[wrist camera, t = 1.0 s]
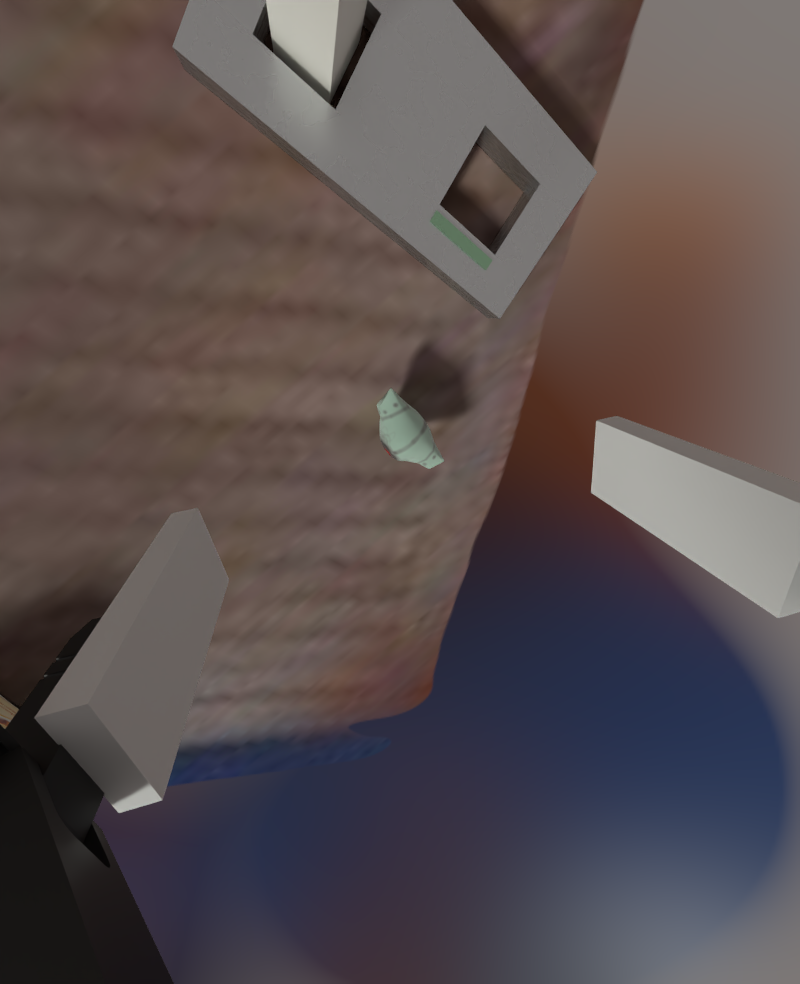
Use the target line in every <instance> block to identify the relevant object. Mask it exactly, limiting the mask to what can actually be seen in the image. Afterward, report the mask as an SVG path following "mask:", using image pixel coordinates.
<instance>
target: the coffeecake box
mask: <svg viewBox="0 0 800 984" xmlns="http://www.w3.org/2000/svg"><path fill="white" fill-rule="evenodd" d="M18 710H19V709H18V708H17V707H15V706H14V705H13V704H11V703H10V702H9V701H7V700H6V699H5V698H4V697H2V696H1V695H0V725H1V726H2V727H3V728H4V729H5V728H6V727H7V726H8V724H9V723H10V721H11V720H12V719H13V717H14V716H15V715H16V713H17V712H18Z"/></svg>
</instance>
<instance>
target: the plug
mask: <svg viewBox="0 0 800 984" xmlns="http://www.w3.org/2000/svg"><path fill="white" fill-rule="evenodd" d="M266 4H267V11H268V18H269V25H270V31H271V38H272V45H273V52H274V54H275V55H276V56H277V57H278V58H279V59H280V60H281V61H282V62H284V63H285V64H286V65H287V66H288V67H289V68H290V69H291V70H292V71H293V72H295V73H296V74H297V75H298V76H299V77H300V78H301V79H302V80H303V81H304V82H306V83H307V84H308V85H309V86H310V87H311V88H312V89H313V90H314V91H315V92H317V93H318V94H319V95H320V96H321V97H322V98H323V99H324V100H325V101H326V102H327V103H329V104H330V103H331V101H332V99H333V96H334V94H335V92H336V90H337V88H338V86H339V84H340V82H341V80H342V77H343V75H344V73H345V71H346V69H347V67H348V65H349V63H350V61H351V58H352V56H353V54H354V52H355V50H356V48H357V46H358V44H359V42H360V37H361V31H362V26H363V20H364V15H365V10H366V4H367V0H266Z"/></svg>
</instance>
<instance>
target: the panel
mask: <svg viewBox="0 0 800 984" xmlns="http://www.w3.org/2000/svg"><path fill="white" fill-rule="evenodd" d="M363 26H364V27H365V28H366V29H367V30H368V31H369V33H370V34H371V37H370V39H369V41H368V43H367V45H366V47H365V49H364V51H363V53H362V55H361V57H360V59H359V62H358V64H357V66H356V68H355V70H354V72H353V74H352V76H351V78H350V80H349V82H348V85H347V87H346V89H345V91H344V93H343V95H342V97H341V99H340V101H339V103H338V105H337V107H336V110H335V109H334V108H333V107H332V106H331V105H330V104H329V103H327V102H326V101H325V100H324V99H323V98H322V97H321V96H320V95H319V94H318V93H317V92H315V91H314V90H313V89H312V88H311V87H310V86H309V85H308V84H307V83H306V82H304V81H303V80H302V79H301V78H300V77H299V76H298V75H297V74H296V73H295V72H293V71H292V70H291V69H290V68H289V67H288V66H287V65H286V64H285V63H284V62H282V61H281V60H280V59H279V58H278V57H277V56H276V55H275V54H274V53H273V52H271V51H270V50H269V49H268V48H267V47H266V46H265V45H264V44H263V43H264V41H265V39H266V36H267V34H268V31H269V29H270V25H269V18H268V11H267V4H266V0H189V3H188V5H187V8H186V11H185V14H184V16H183V19H182V22H181V25H180V27H179V30H178V33H177V36H176V38H175V41H174V44H173V49H174V51H175V52H176V54H177V56H178V58H179V60H180V62H181V64H182V65H183V67H184V69H185V70H186V71H187V72H188V73H190V74H191V75H192V76H193V77H194V78H196V79H197V80H198V81H199V82H201V83H202V84H203V85H204V86H205V87H207V88H208V89H209V90H210V91H212V92H213V93H214V94H215V95H216V96H218V97H219V98H220V99H221V100H223V101H224V102H225V103H226V104H227V105H229V106H230V107H231V108H232V109H233V110H235V111H236V112H237V113H238V114H240V115H241V116H242V117H243V118H244V119H246V120H247V121H248V122H249V123H251V124H252V125H253V126H254V127H255V128H257V129H258V130H259V131H260V132H262V133H263V134H264V135H265V136H266V137H268V138H269V139H270V140H271V141H273V142H274V143H275V144H276V145H277V146H279V147H280V148H281V149H282V150H284V151H285V152H286V153H287V154H288V155H290V156H291V157H292V158H293V159H295V160H296V161H297V162H298V163H299V164H301V165H302V166H303V167H304V168H306V169H307V170H308V171H309V172H310V173H312V174H313V175H314V176H315V177H317V178H318V179H319V180H320V181H321V182H323V183H324V184H325V185H326V186H328V187H329V188H330V189H331V190H332V191H334V192H335V193H336V194H337V195H339V196H340V197H341V198H342V199H343V200H345V201H346V202H347V203H348V204H350V205H351V206H352V207H353V208H354V209H356V210H357V211H358V212H359V213H361V214H362V215H363V216H364V217H365V218H367V219H368V220H369V221H370V222H372V223H373V224H374V225H375V226H376V227H378V228H379V229H380V230H381V231H383V232H384V233H385V234H386V235H387V236H389V237H390V238H391V239H392V240H393V241H395V242H396V243H397V244H398V245H400V246H401V247H402V248H403V249H404V250H406V251H407V252H408V253H409V254H411V255H412V256H413V257H414V258H415V259H417V260H418V261H419V262H420V263H422V264H423V265H424V266H425V267H426V268H428V269H429V270H430V271H431V272H433V273H434V274H435V275H436V276H437V277H439V278H440V279H441V280H442V281H444V282H445V283H446V284H447V285H448V286H450V287H451V288H452V289H453V290H455V291H456V292H457V293H458V294H459V295H461V296H462V297H463V298H464V299H466V300H467V301H468V302H469V303H470V304H472V305H473V306H474V307H475V308H477V309H478V310H479V311H480V312H481V313H483V314H484V315H485V316H486V317H488V318H498V319H500V318H501V316H502V315H503V313H504V312H505V310H506V309H507V307H508V306H509V304H510V303H511V301H512V300H513V298H514V297H515V295H516V294H517V292H518V290H519V289H520V287H521V286H522V284H523V283H524V281H525V280H526V278H527V277H528V275H529V274H530V272H531V271H532V269H533V268H534V266H535V265H536V263H537V262H538V260H539V259H540V257H541V256H542V254H543V253H544V251H545V250H546V248H547V247H548V245H549V244H550V242H551V241H552V239H553V238H554V236H555V235H556V233H557V232H558V230H559V229H560V227H561V226H562V224H563V223H564V221H565V220H566V218H567V217H568V215H569V214H570V212H571V211H572V209H573V208H574V206H575V205H576V203H577V202H578V200H579V199H580V197H581V196H582V194H583V193H584V191H585V190H586V188H587V187H588V185H589V184H590V182H591V181H592V179H593V178H594V176H595V175H596V173H597V171H596V170H595V169H594V168H593V166H592V165H591V164H590V163H589V162H588V160H587V159H586V158H585V157H584V156H583V155H582V153H581V152H580V151H579V150H578V149H577V147H576V146H575V145H574V144H573V143H572V142H571V140H570V139H569V138H568V137H567V136H566V134H565V133H564V132H563V131H562V130H561V129H560V127H559V126H558V125H557V124H556V123H555V121H554V120H553V119H552V118H551V117H550V116H549V114H548V113H547V112H546V111H545V110H544V108H543V107H542V106H541V105H540V104H539V103H538V101H537V100H536V99H535V98H534V97H533V95H532V94H531V93H530V92H529V91H528V90H527V88H526V87H525V86H524V85H523V84H522V82H521V81H520V80H519V79H518V78H517V77H516V75H515V74H514V73H513V72H512V71H511V69H510V68H509V67H508V66H507V65H506V63H505V62H504V61H503V60H502V59H501V58H500V56H499V55H498V54H497V53H496V52H495V50H494V49H493V48H492V47H491V46H490V45H489V43H488V42H487V41H486V40H485V39H484V37H483V36H482V35H481V34H480V33H479V32H478V30H477V29H476V28H475V27H474V26H473V24H472V23H471V22H470V21H469V20H468V19H467V17H466V16H465V15H464V14H463V13H462V11H461V10H460V9H459V8H458V7H457V6H456V4H455V3H454V2H453V1H452V0H367V4H366V10H365V15H364V20H363ZM475 142H476V143H477V144H478V145H479V146H480V147H481V148H482V149H483V150H484V151H485V152H486V154H487V155H488V156H489V157H490V158H491V159H492V160H493V161H494V162H495V163H496V164H497V165H498V166H499V167H500V168H501V169H502V170H503V171H504V172H505V173H506V174H507V175H508V176H509V177H510V178H511V179H512V180H513V181H514V182H515V184H516V185H517V186H518V187H519V188H520V189H521V190H522V191H523V192H524V193H523V195H522V196H521V198H520V199H519V201H518V203H517V204H516V206H515V207H514V209H513V211H512V212H511V214H510V215H509V217H508V219H507V220H506V222H505V223H504V225H503V227H502V228H501V230H500V231H499V233H498V235H497V236H496V238H495V239H494V241H493V243H492V244H491V246H490V247H489V249H488V248H487V247H486V246H485V245H483V244H482V243H481V242H480V241H479V240H478V239H477V238H476V237H475V236H474V235H472V234H471V233H470V232H469V231H468V230H467V229H466V228H465V227H464V226H463V225H462V224H460V223H459V222H458V221H457V220H456V219H455V218H454V217H453V216H452V215H451V214H449V213H448V212H447V211H446V210H445V209H444V208H443V207H442V206H441V205H440V203H441V201H442V199H443V198H444V196H445V194H446V192H447V191H448V189H449V187H450V185H451V184H452V182H453V180H454V178H455V177H456V175H457V173H458V172H459V170H460V168H461V166H462V165H463V163H464V161H465V159H466V158H467V156H468V154H469V152H470V151H471V149H472V147H473V145H474V144H475Z"/></svg>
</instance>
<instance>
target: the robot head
mask: <svg viewBox="0 0 800 984" xmlns="http://www.w3.org/2000/svg"><path fill="white" fill-rule="evenodd" d="M377 408H378V411H379V414H380V440H381V442H382V445H383V447H384V449H385V450H386V451H387V452H388V453H389V455H390V456H391V457H392V458H394V459H396V460H398V461H410V462H415V463H419V464H421V465H422V466H424V467H426V468H429V469H430V468H432V467H434V466H436V465H438V464H440V463H442V462H444V459H443V458H442V456H441V454H440V452H439V450H438V448H437V447H436V445H435V443H434V441H433V437H432V434H431V431H430V428H429V427H428V425H427V423H426V421H425V420H424V419H423V418H422V416H421V415H420V414H419V413H418V412H417V411H416V410H415V409H414V408H412V407H411V406H410V405H409V404H407V403H406V402H405V401H404V400H403V399H402V398H401V397H400V396H399V395H398V394H397V393H396V392H395V391H394V390H393V389H392V388H390V390H389V391H388V392H387V393H386V394H385V396H384V397H383V398H382V399H381V400H380V402H379V403H378V404H377Z"/></svg>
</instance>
